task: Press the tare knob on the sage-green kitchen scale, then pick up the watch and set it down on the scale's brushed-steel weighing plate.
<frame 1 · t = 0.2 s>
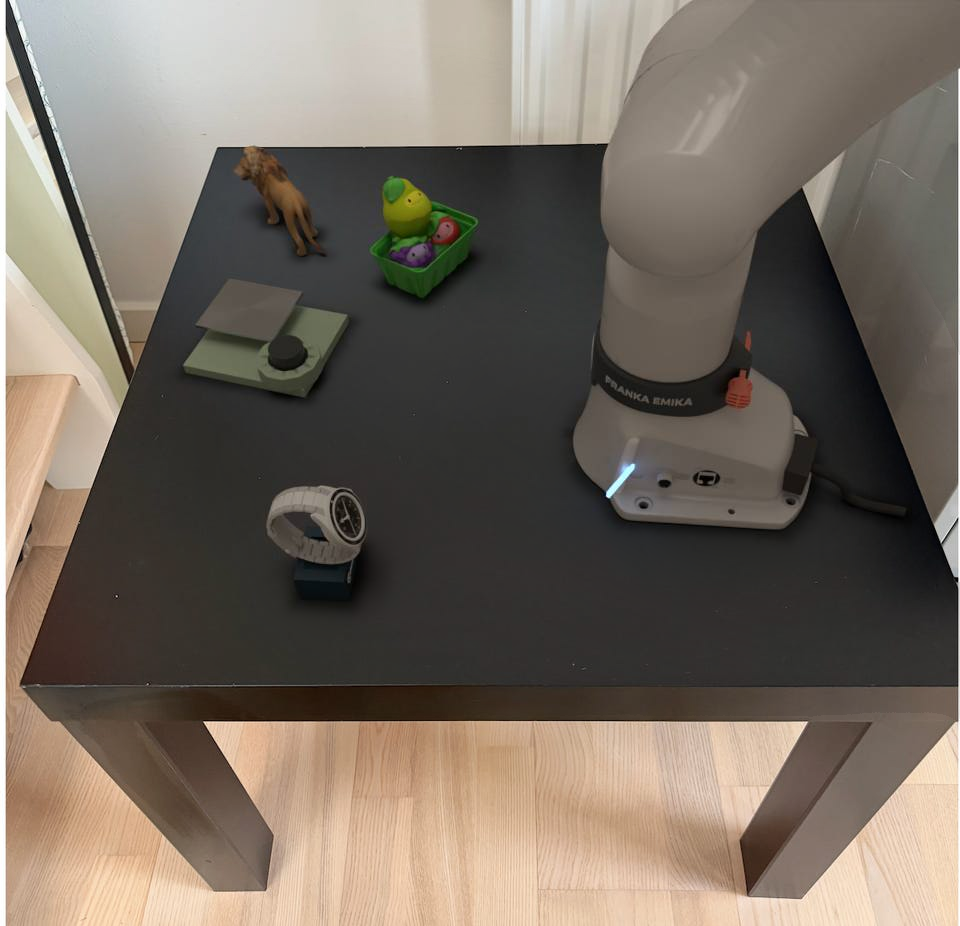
tare knob: (286, 353, 93), point 3 cm above the table, slide at 0.1 cm
watch: (331, 573, 80), on the table
weigh plate: (250, 310, 98), resting on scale
fruit basket: (424, 270, 107), on the table
lion figurine: (288, 230, 113), on the table
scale: (269, 347, 99), on the table
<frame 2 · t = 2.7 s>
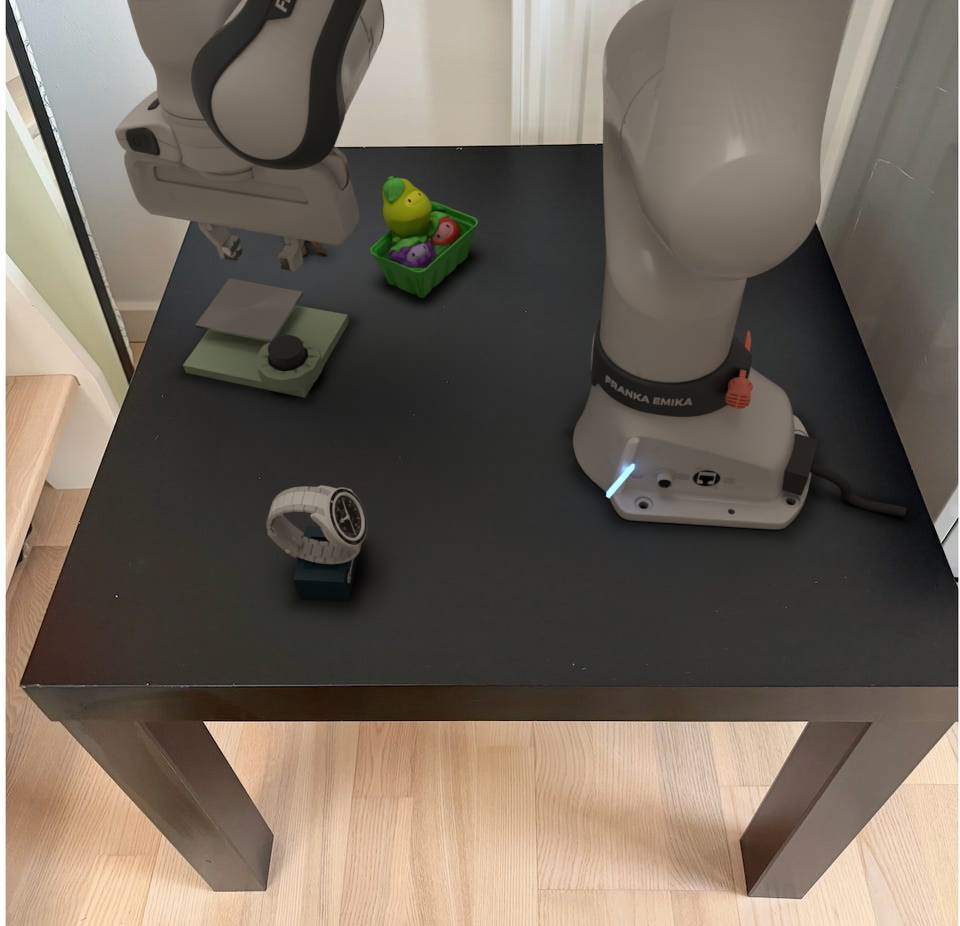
hand: (262, 262, 84), 15 cm above the table, tool pointing down, fingers open, 5 cm apart
nothing on the table moved.
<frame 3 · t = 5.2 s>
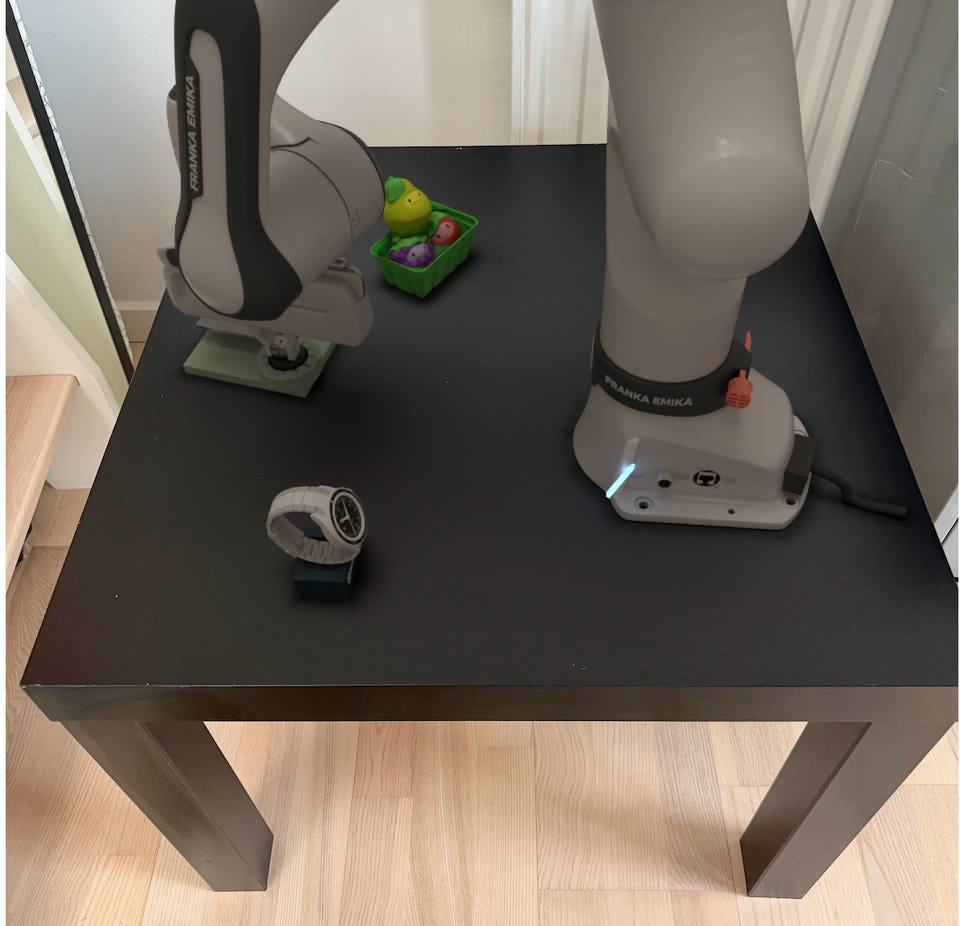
hand: (284, 354, 93), 3 cm above the table, tool pointing down, fingers closed, pressing on tare knob
tare knob: (288, 359, 94), point 3 cm above the table, slide at -0.8 cm, touching gripper
everything else where it was.
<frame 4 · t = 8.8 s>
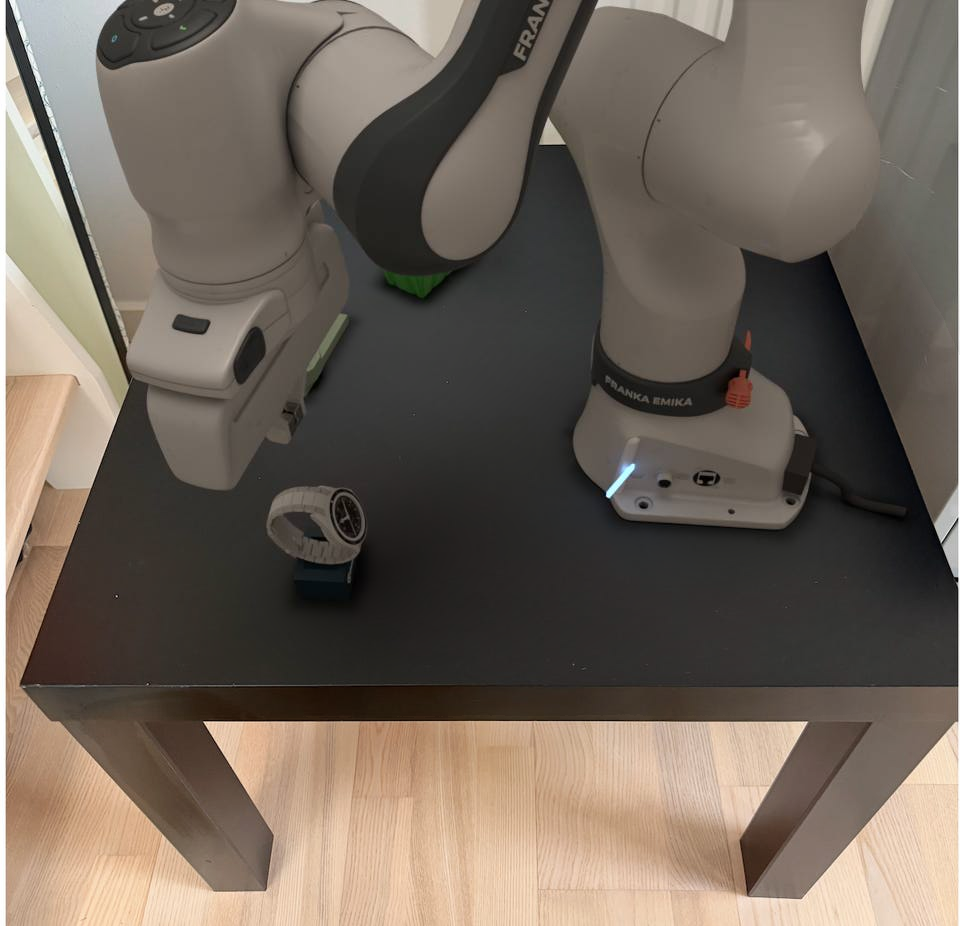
hand: (287, 427, 66), 19 cm above the table, tool pointing down, fingers closed
tare knob: (287, 353, 93), point 3 cm above the table, slide at 0.1 cm
everything else where it was.
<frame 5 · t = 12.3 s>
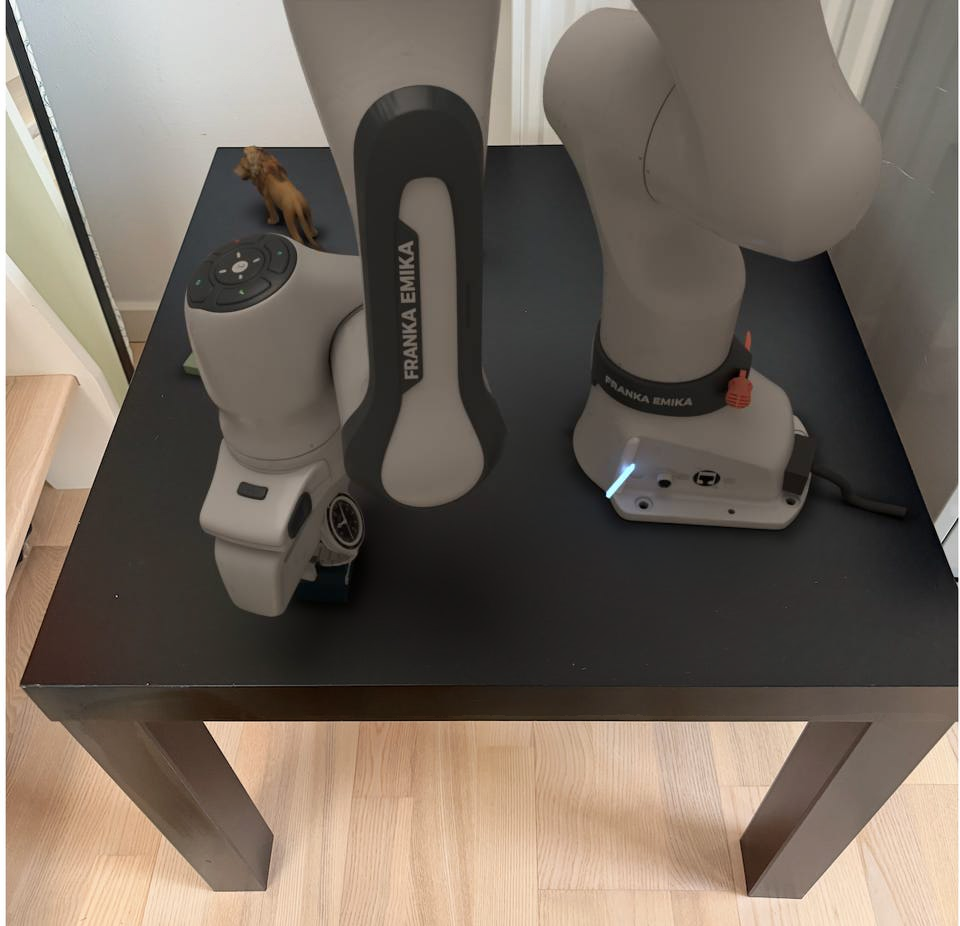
hand: (322, 546, 77), 4 cm above the table, tool pointing down, fingers closed on watch, 4 cm apart
watch: (329, 573, 80), on the table, touching gripper
everything else where it was.
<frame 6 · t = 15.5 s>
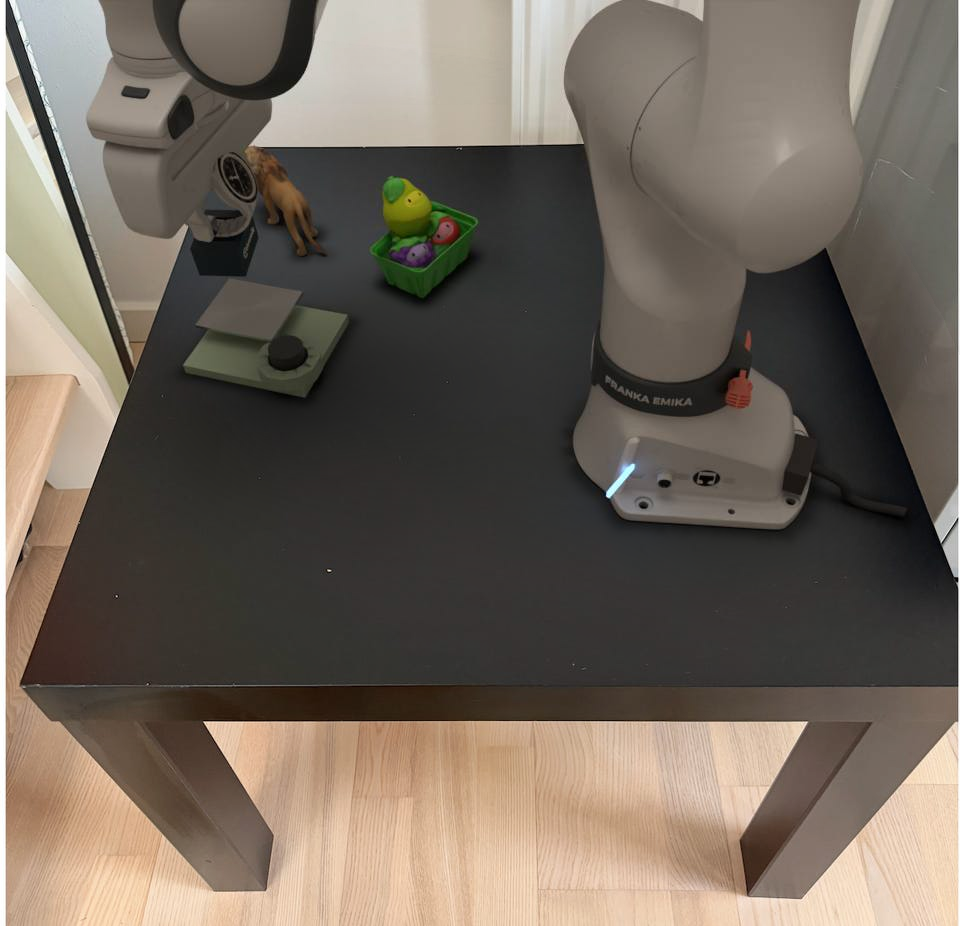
hand: (221, 218, 82), 19 cm above the table, tool pointing down, fingers closed on watch, 4 cm apart
watch: (231, 257, 85), point 15 cm above the table, touching gripper
everything else where it was.
when the fingers open (7 cm above the table, at t = 19.3 s): watch stays where it is, resting on weigh plate.
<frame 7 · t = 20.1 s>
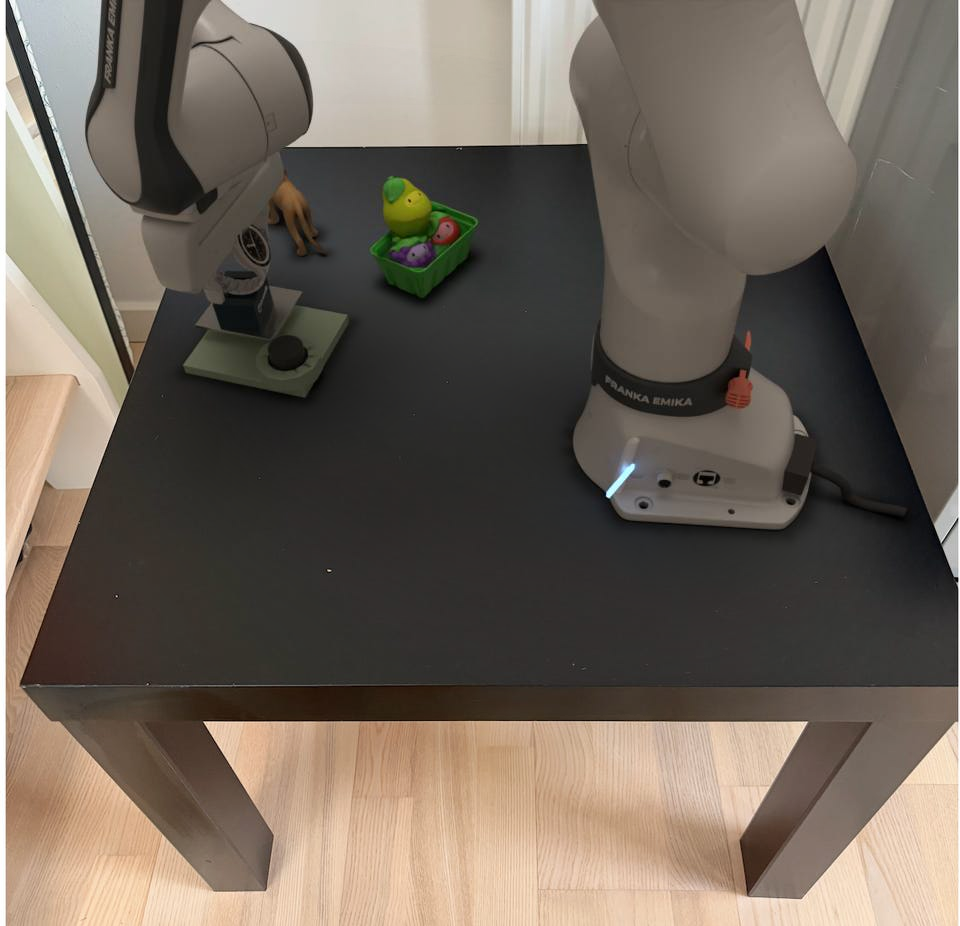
hand: (240, 270, 94), 8 cm above the table, tool pointing down, fingers open, 8 cm apart
watch: (247, 311, 98), point 3 cm above the table, touching weigh plate
everything else where it was.
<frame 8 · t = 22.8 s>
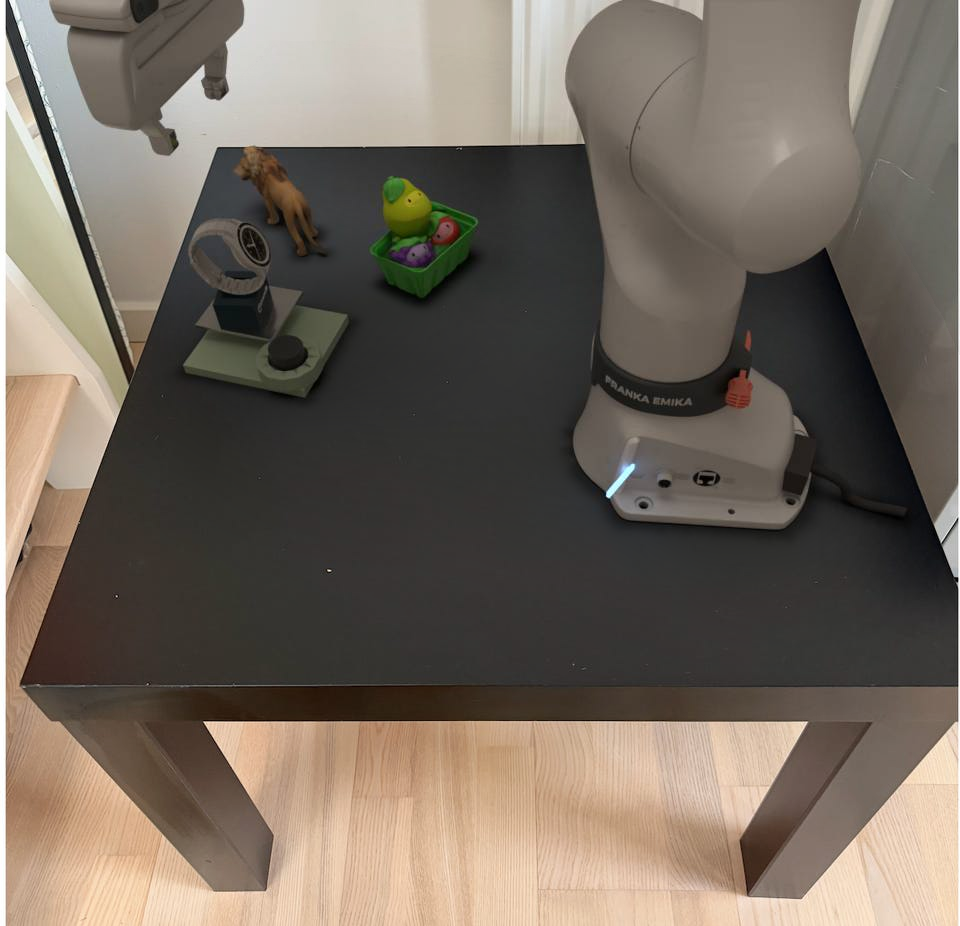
hand: (193, 122, 81), 25 cm above the table, tool pointing down, fingers open, 8 cm apart
nothing on the table moved.
at the end: tare knob pushed in 1.0 cm at the most during the clip, back to where it started at the end; watch inside the target area on the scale (0.4 cm from its centre), point 3.2 cm above the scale's base; watch tilted 0° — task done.
